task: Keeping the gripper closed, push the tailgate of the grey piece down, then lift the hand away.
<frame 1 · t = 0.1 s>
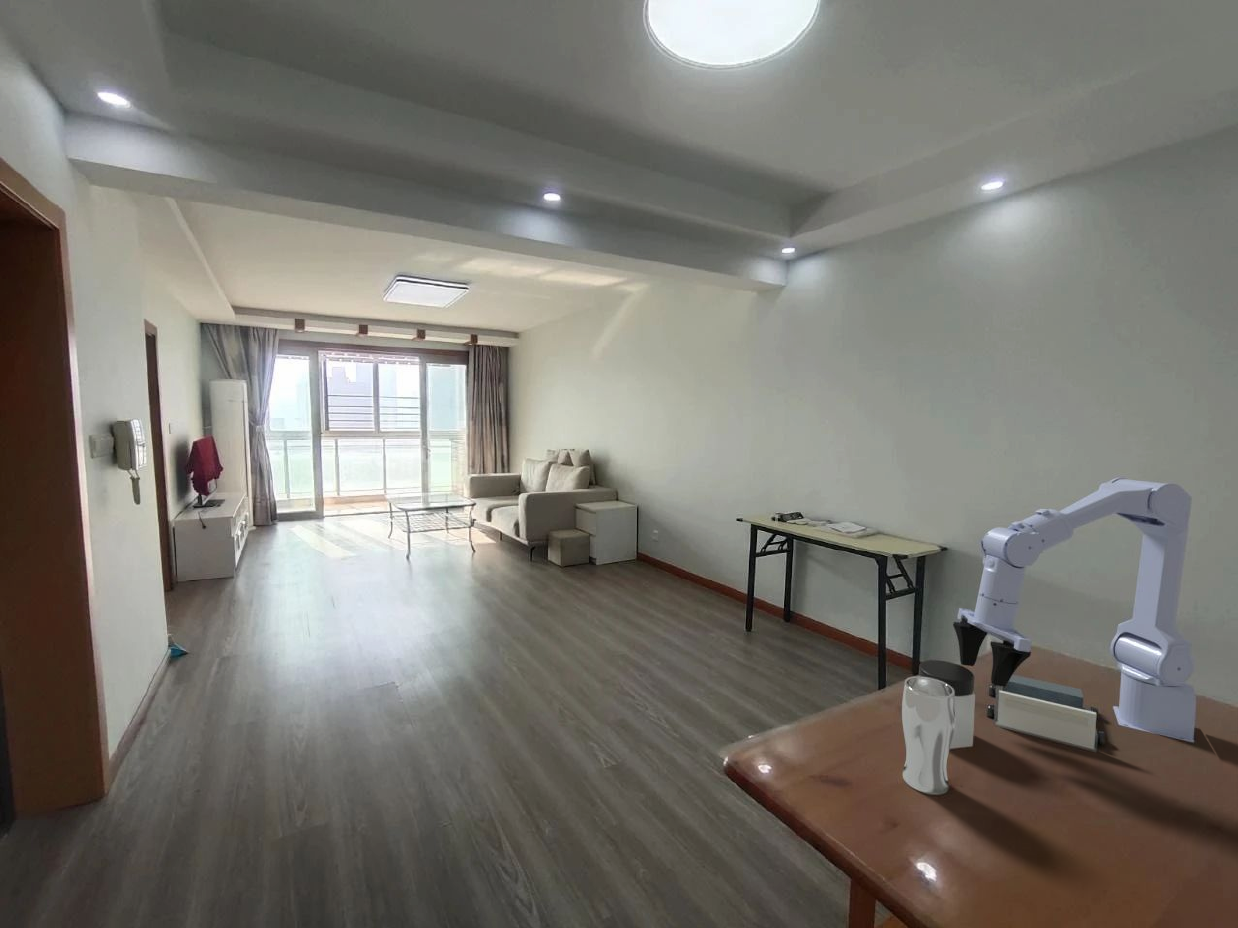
hand: (982, 674, 96), 11 cm above the table, tool pointing down, fingers open, 7 cm apart
beer glass: (925, 782, 84), on the table
grey piece: (1041, 721, 100), on the table
tailgate: (1044, 720, 94), point 3 cm above the table, hinge at 0.0°
jar: (943, 738, 95), on the table
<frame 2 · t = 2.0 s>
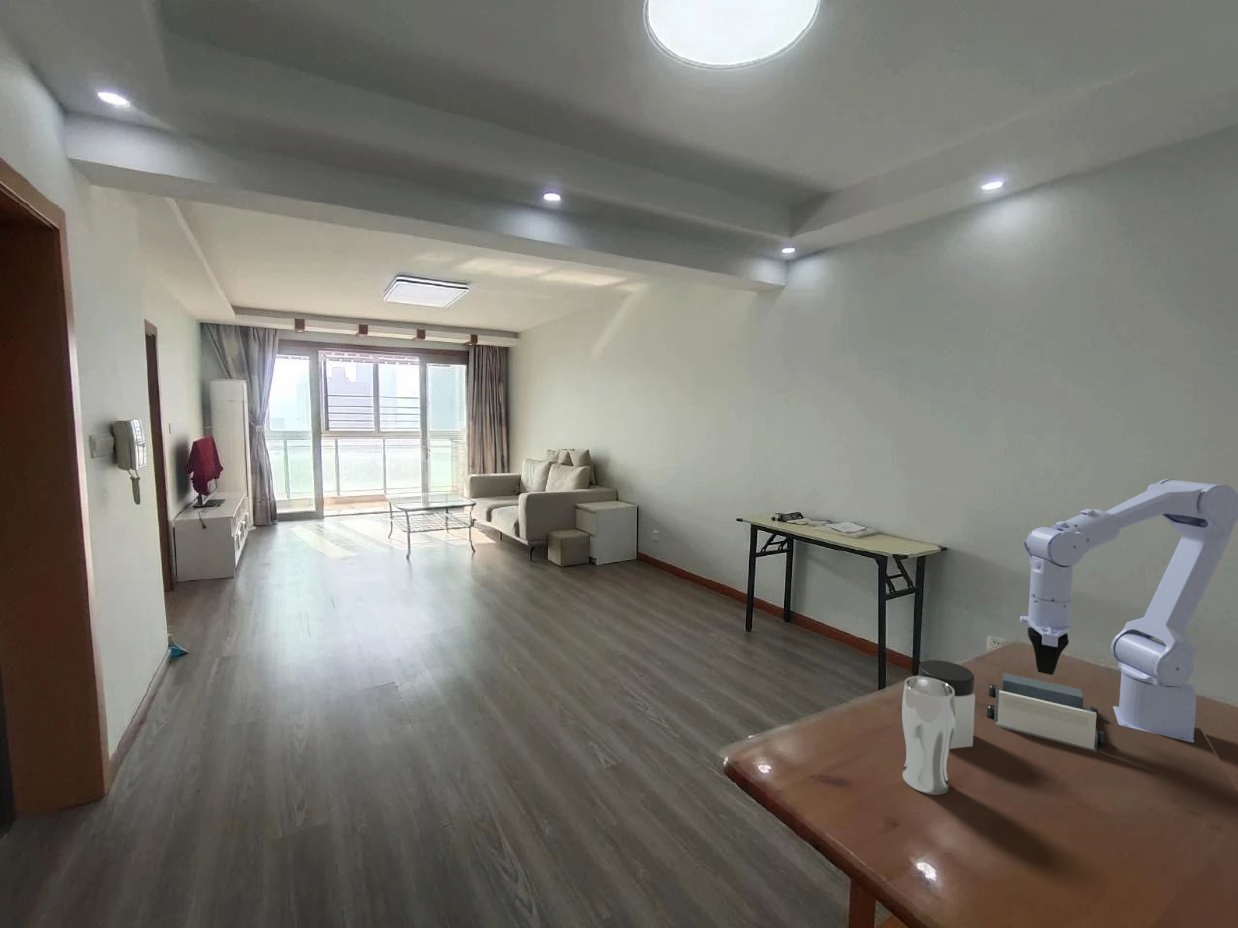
hand: (1045, 672, 98), 10 cm above the table, tool pointing down, fingers closed
nothing on the table moved.
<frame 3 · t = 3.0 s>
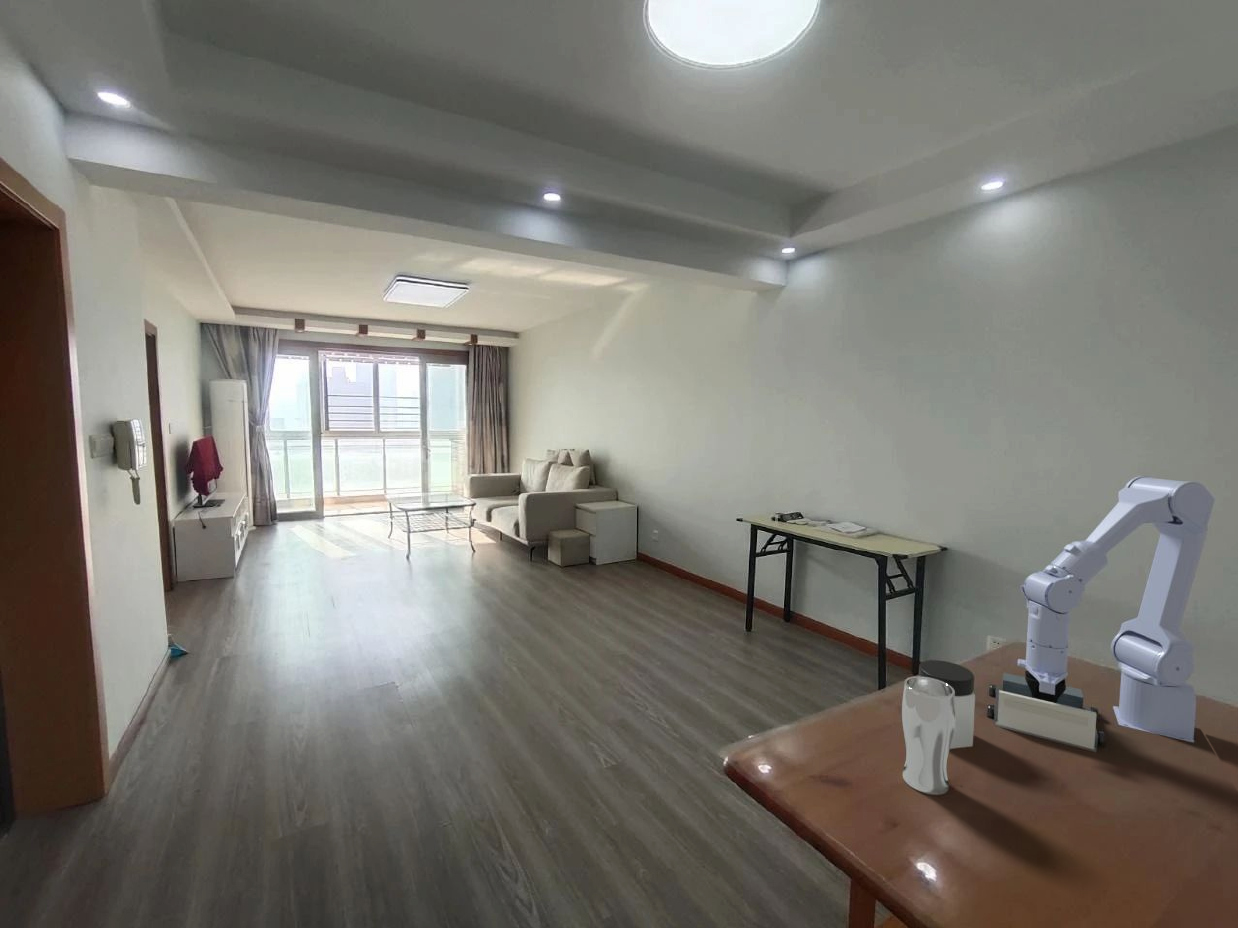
hand: (1042, 716, 98), 2 cm above the table, tool pointing down, fingers closed
nothing on the table moved.
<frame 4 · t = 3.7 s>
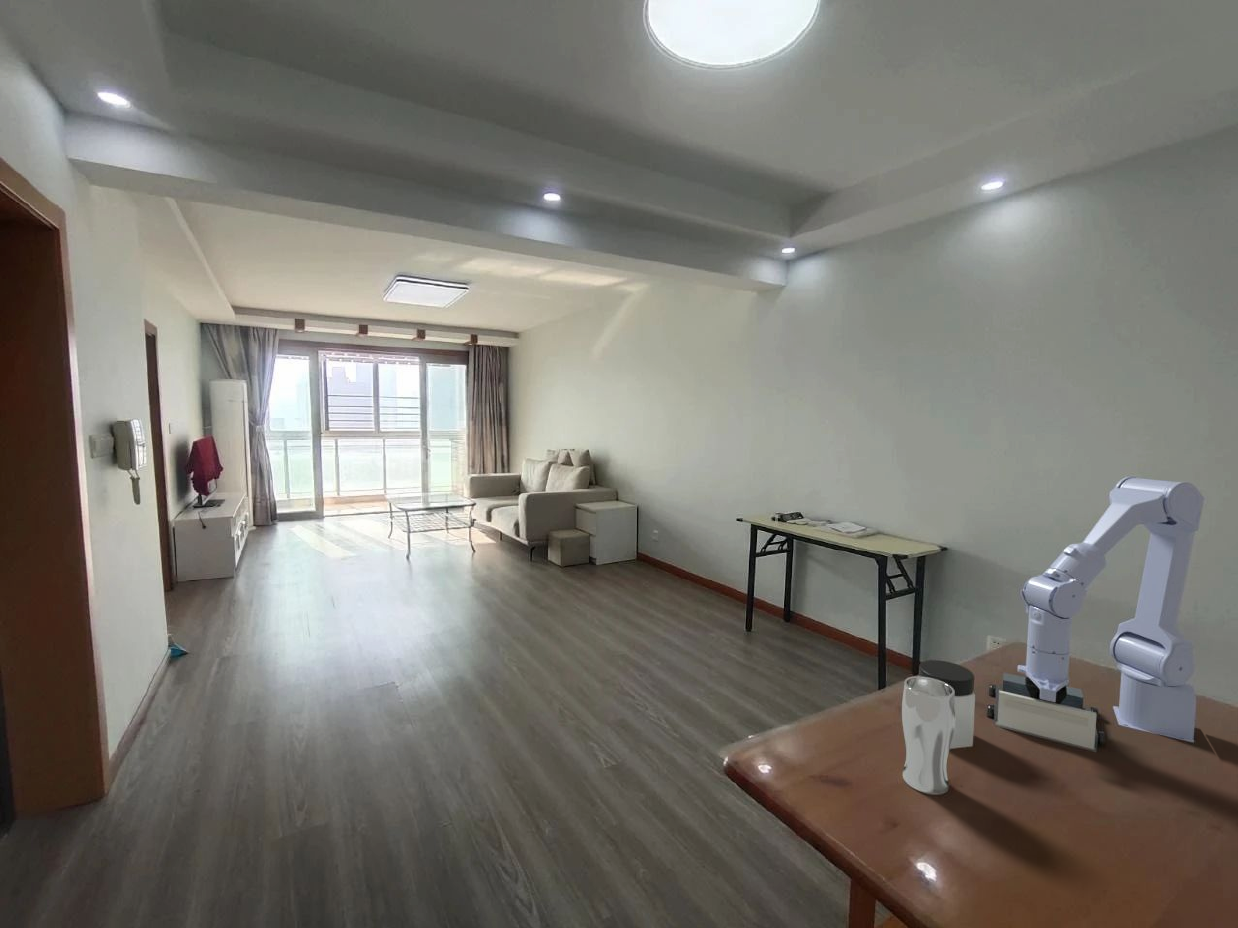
hand: (1043, 723, 96), 2 cm above the table, tool pointing down, fingers closed
tailgate: (1044, 721, 94), point 3 cm above the table, hinge at 0.7°, touching gripper
everything else where it was.
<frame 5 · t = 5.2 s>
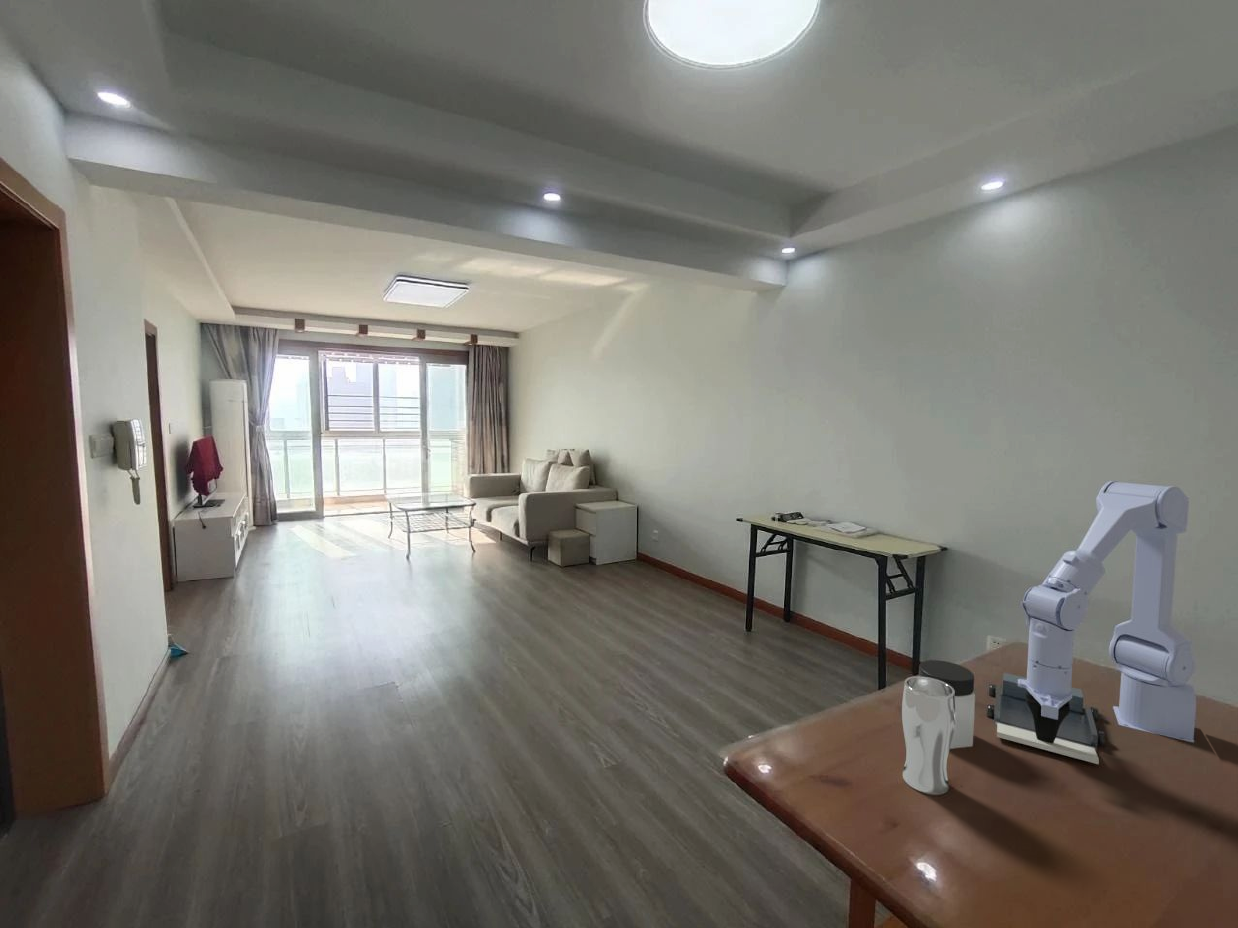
hand: (1044, 740, 91), 2 cm above the table, tool pointing down, fingers closed, pressing on tailgate
tailgate: (1044, 741, 92), point 1 cm above the table, hinge at 78.8°, touching gripper
everything else where it was.
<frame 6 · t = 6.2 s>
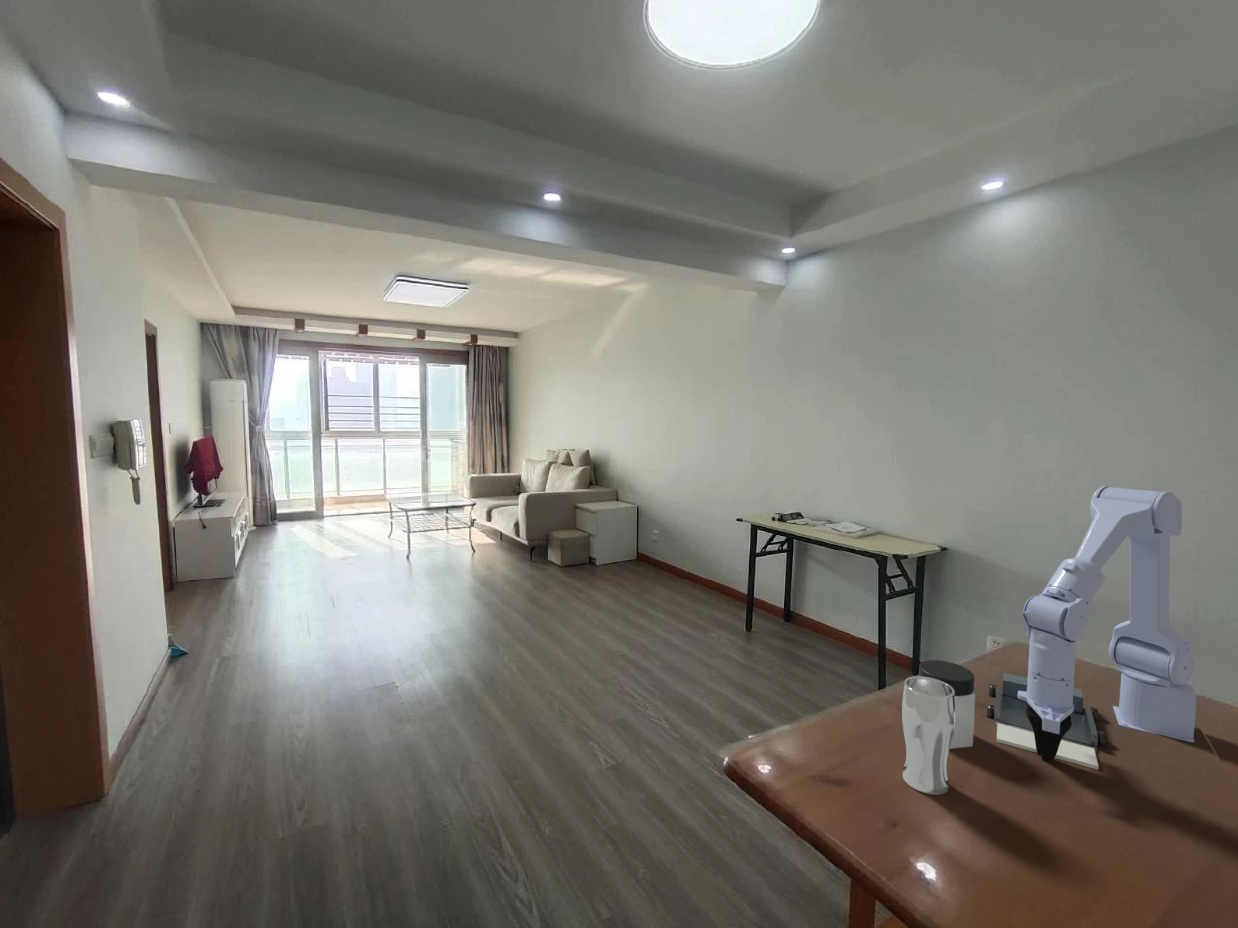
hand: (1045, 754, 88), 1 cm above the table, tool pointing down, fingers closed
tailgate: (1044, 744, 92), point 1 cm above the table, hinge at 88.5°
everything else where it was.
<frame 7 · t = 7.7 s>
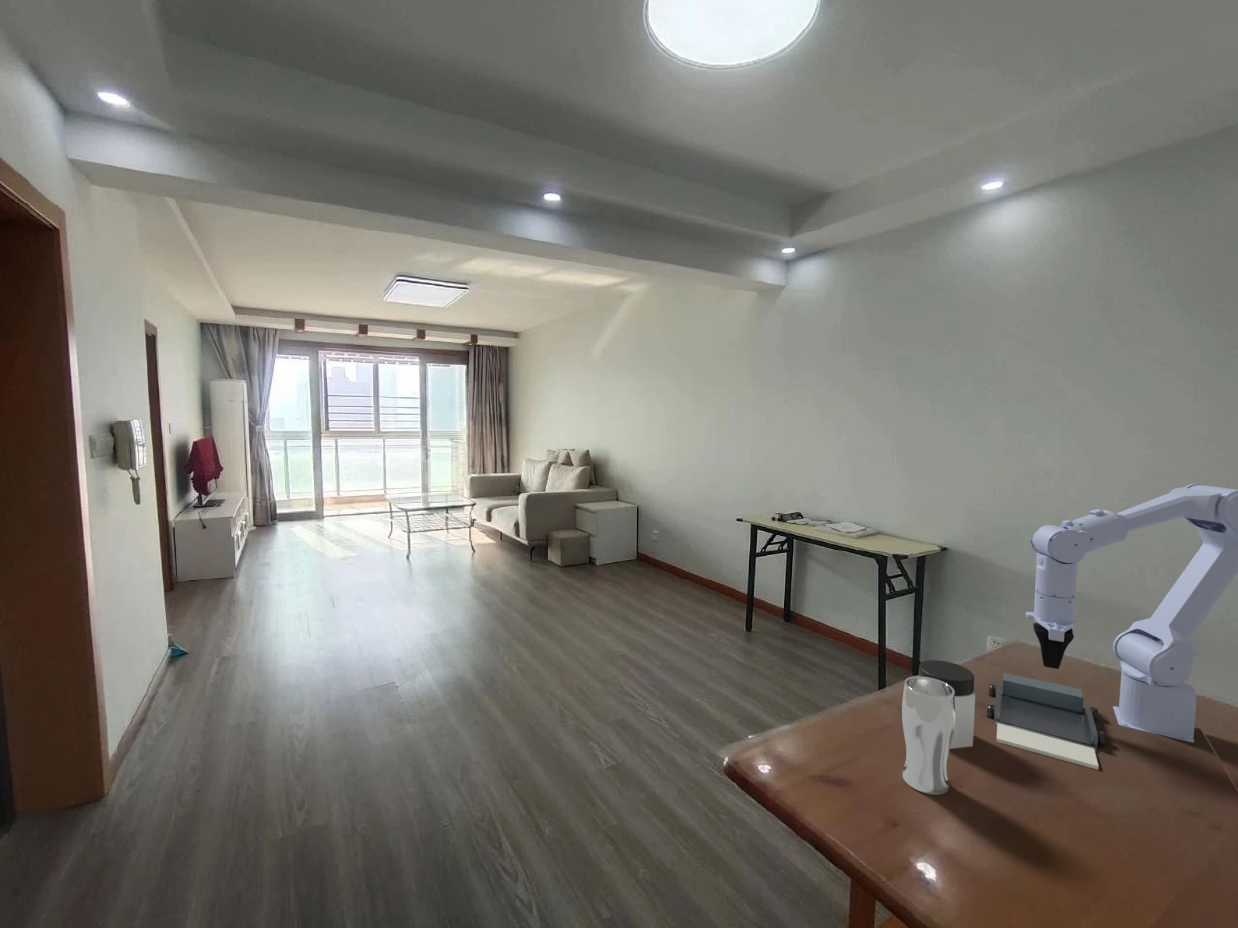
hand: (1050, 666, 101), 10 cm above the table, tool pointing down, fingers closed
nothing on the table moved.
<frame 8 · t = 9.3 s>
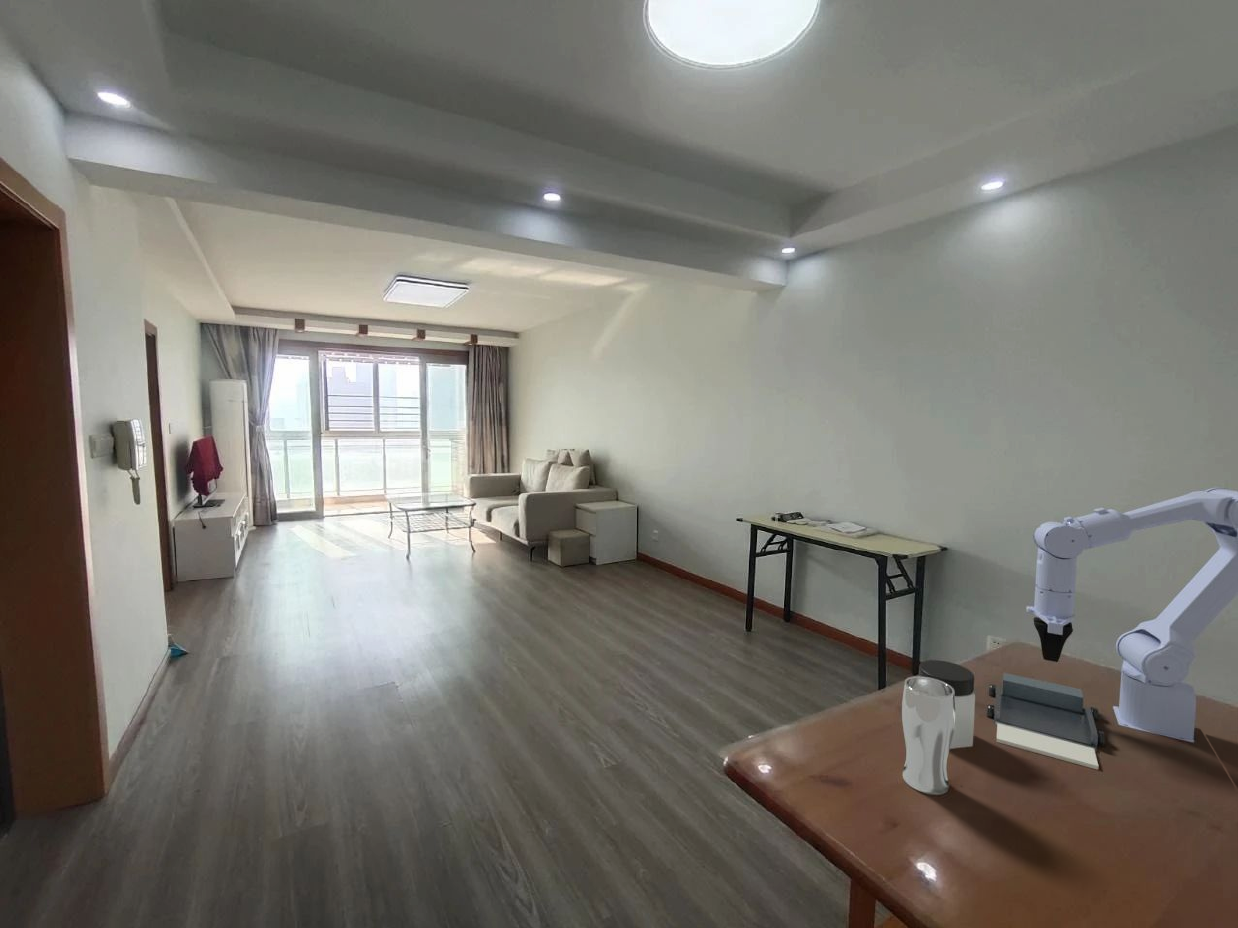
hand: (1050, 659, 103), 10 cm above the table, tool pointing down, fingers closed
nothing on the table moved.
at the end: tailgate at +89° (first picture: +0°) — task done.
